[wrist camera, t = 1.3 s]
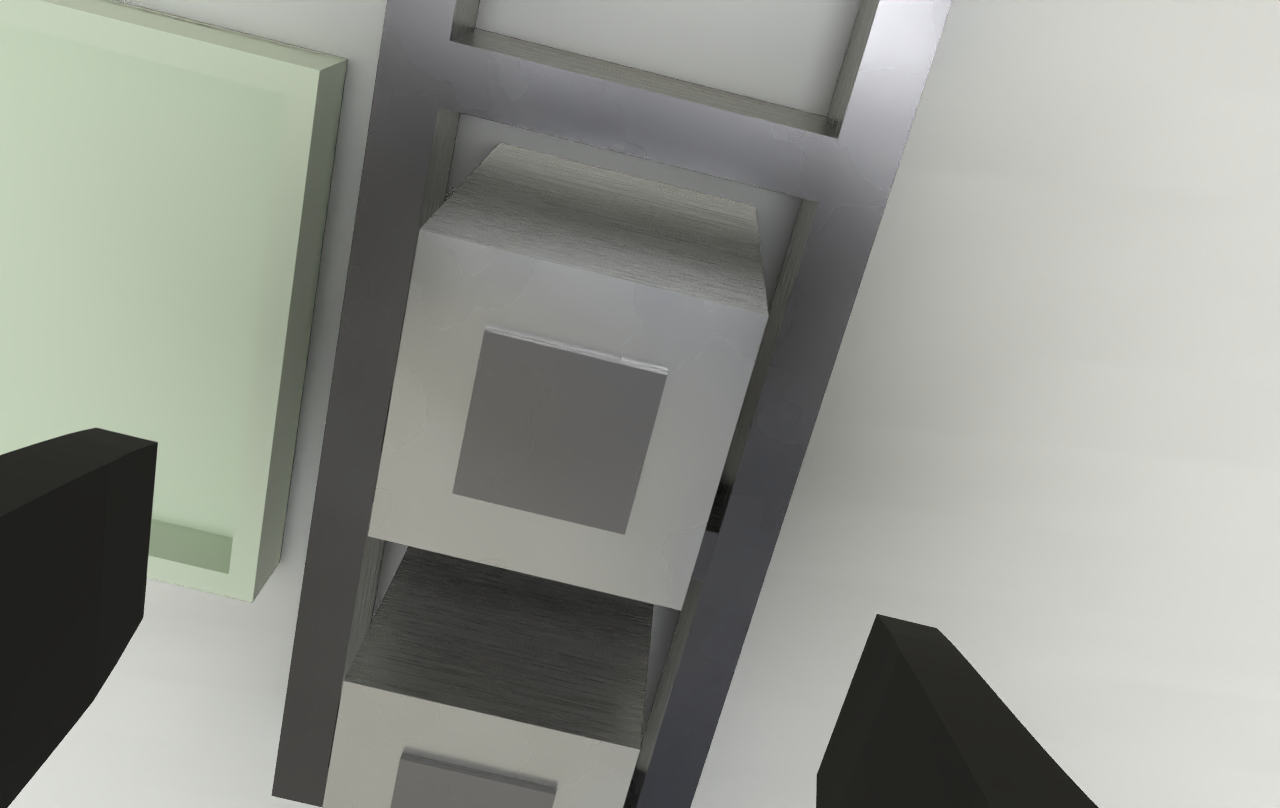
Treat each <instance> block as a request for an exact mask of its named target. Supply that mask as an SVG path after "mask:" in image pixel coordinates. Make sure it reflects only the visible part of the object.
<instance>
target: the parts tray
mask: <svg viewBox="0 0 1280 808" xmlns="http://www.w3.org/2000/svg"><path fill="white" fill-rule="evenodd" d="M346 66H347V59H344V58H340V57H336V56H333V55H329V54H325V53H321V52H317V51H313V50H309V49H305V48H301V47H297V46H293V45H289V44H285V43H281V42H277V41H273V40H269V39H265V38H261V37H257V36H253V35H249V34H245V33H241V32H237V31H233V30H229V29H225V28H221V27H217V26H213V25H209V24H205V23H201V22H197V21H193V20H189V19H185V18H181V17H177V16H173V15H169V14H165V13H161V12H157V11H153V10H149V9H145V8H142V7H138V6H134V5H130V4H126V3H122V2H118V1H114V0H0V455H2V454H5V453H8V452H11V451H14V450H17V449H20V448H24V447H27V446H30V445H33V444H36V443H39V442H43V441H46V440H49V439H52V438H56V437H59V436H63V435H66V434H70V433H74V432H78V431H82V430H87V429H91V428H100V429H105V430H109V431H113V432H117V433H121V434H126V435H130V436H134V437H138V438H142V439H146V440H151V441H155V442H158V448H157V460H156V472H155V484H154V496H153V508H152V519H151V531H150V543H149V555H148V567H147V578H149V579H153V580H158V581H162V582H166V583H170V584H175V585H179V586H183V587H187V588H192V589H196V590H200V591H205V592H209V593H213V594H217V595H222V596H226V597H230V598H234V599H239V600H243V601H247V602H251V603H252V602H253V601H254V599H255V598H256V597H257V595H258V594H259V592H260V591H261V589H262V588H263V586H264V585H265V583H266V582H267V580H268V579H269V577H270V576H271V574H272V573H273V571H274V570H275V568H276V567H277V565H278V564H279V562H280V554H281V547H282V539H283V532H284V525H285V517H286V510H287V502H288V495H289V488H290V480H291V473H292V465H293V458H294V451H295V443H296V436H297V428H298V421H299V414H300V406H301V399H302V391H303V384H304V377H305V369H306V362H307V354H308V347H309V340H310V332H311V325H312V317H313V310H314V303H315V295H316V288H317V280H318V273H319V266H320V258H321V251H322V243H323V236H324V229H325V221H326V214H327V206H328V199H329V192H330V184H331V177H332V169H333V162H334V155H335V147H336V140H337V132H338V125H339V118H340V110H341V103H342V95H343V88H344V81H345V73H346Z"/></svg>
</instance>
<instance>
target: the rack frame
mask: <svg viewBox="0 0 1280 808" xmlns="http://www.w3.org/2000/svg"><path fill="white" fill-rule="evenodd" d="M479 1H480V0H387V6H386V12H385V19H384V26H383V33H382V40H381V47H380V54H379V61H378V68H377V74H376V81H375V88H374V95H373V102H372V109H371V116H370V123H369V129H368V136H367V143H366V150H365V157H364V164H363V171H362V178H361V185H360V191H359V198H358V205H357V212H356V219H355V226H354V233H353V240H352V246H351V253H350V260H349V267H348V274H347V281H346V288H345V295H344V302H343V308H342V315H341V322H340V329H339V336H338V343H337V350H336V357H335V363H334V370H333V377H332V384H331V391H330V398H329V405H328V412H327V419H326V425H325V432H324V439H323V446H322V453H321V460H320V467H319V474H318V480H317V487H316V494H315V501H314V508H313V515H312V522H311V529H310V536H309V542H308V549H307V556H306V563H305V570H304V577H303V584H302V591H301V598H300V604H299V611H298V618H297V625H296V632H295V639H294V646H293V653H292V659H291V666H290V673H289V680H288V687H287V694H286V701H285V708H284V715H283V721H282V728H281V735H280V742H279V749H278V756H277V763H276V770H275V776H274V783H273V790H272V796H275V797H280V798H284V799H288V800H293V801H297V802H301V803H306V804H310V805H315V806H319V807H323V801H324V795H325V789H326V783H327V777H328V771H329V765H330V759H331V753H332V747H333V741H334V735H335V730H336V724H337V718H338V712H339V706H340V700H341V694H342V688H343V682H344V679H345V677H346V675H347V673H348V671H349V669H350V667H351V665H352V663H353V661H354V658H355V656H356V654H357V652H358V650H359V648H360V646H361V644H362V642H363V640H364V638H365V636H366V634H367V632H368V629H369V627H370V625H371V619H372V614H373V608H374V602H375V597H376V591H377V585H378V579H379V574H380V568H381V562H382V556H383V551H384V545H385V540H382V539H378V538H373V537H369V536H368V532H369V526H370V520H371V515H372V509H373V503H374V497H375V491H376V485H377V479H378V473H379V467H380V461H381V455H382V449H383V443H384V437H385V432H386V426H387V420H388V414H389V408H390V402H391V396H392V390H393V384H394V378H395V372H396V366H397V360H398V354H399V349H400V343H401V337H402V331H403V325H404V319H405V313H406V307H407V301H408V295H409V289H410V283H411V277H412V271H413V266H414V260H415V254H416V248H417V242H418V236H419V230H420V228H421V227H422V226H423V225H424V224H425V223H426V222H427V221H428V220H429V219H430V218H431V217H432V216H433V214H434V213H435V212H436V211H437V210H438V209H439V208H440V207H441V206H442V205H443V204H444V201H445V196H446V190H447V184H448V178H449V173H450V167H451V161H452V155H453V150H454V144H455V138H456V133H457V127H458V121H459V115H460V113H464V114H468V115H472V116H476V117H480V118H484V119H488V120H492V121H496V122H500V123H504V124H508V125H512V126H516V127H520V128H524V129H528V130H532V131H536V132H540V133H544V134H548V135H552V136H556V137H560V138H564V139H568V140H572V141H576V142H580V143H584V144H588V145H592V146H596V147H600V148H604V149H608V150H612V151H616V152H620V153H624V154H628V155H632V156H636V157H640V158H644V159H648V160H652V161H656V162H660V163H664V164H668V165H672V166H676V167H680V168H684V169H688V170H692V171H695V172H699V173H703V174H707V175H711V176H715V177H719V178H723V179H727V180H731V181H735V182H739V183H743V184H747V185H751V186H755V187H759V188H763V189H767V190H771V191H775V192H779V193H783V194H787V195H791V196H795V197H799V198H803V200H802V203H801V207H800V210H799V213H798V217H797V220H796V224H795V227H794V230H793V234H792V237H791V241H790V244H789V247H788V251H787V254H786V257H785V261H784V264H783V268H782V271H781V274H780V278H779V281H778V284H777V288H776V291H775V295H774V298H773V301H772V305H771V308H770V312H769V316H768V320H767V323H766V327H765V330H764V333H763V337H762V340H761V343H760V347H759V350H758V353H757V357H756V360H755V364H754V367H753V370H752V374H751V377H750V380H749V384H748V387H747V391H746V394H745V397H744V401H743V404H742V407H741V411H740V414H739V418H738V421H737V424H736V428H735V431H734V434H733V438H732V441H731V445H730V448H729V451H728V455H727V458H726V461H725V465H724V468H723V471H722V475H721V478H720V482H719V485H718V488H717V492H716V495H715V498H714V502H713V505H712V509H711V512H710V515H709V519H708V522H707V525H706V529H705V532H704V536H703V539H702V542H701V546H700V549H699V552H698V556H697V559H696V563H695V566H694V569H693V573H692V576H691V579H690V583H689V586H688V590H687V593H686V596H685V600H684V603H683V606H682V610H681V612H680V616H679V619H678V623H677V626H676V629H675V633H674V636H673V639H672V643H671V646H670V650H669V653H668V656H667V660H666V663H665V666H664V670H663V673H662V677H661V680H660V683H659V687H658V690H657V693H656V697H655V700H654V704H653V707H652V710H651V714H650V717H649V721H648V724H647V727H646V731H645V734H644V737H643V741H642V744H641V748H640V752H639V755H638V759H637V762H636V765H635V769H634V772H633V775H632V779H631V782H630V786H629V789H628V792H627V796H626V799H625V802H624V806H623V808H690V806H691V803H692V800H693V797H694V794H695V791H696V788H697V785H698V782H699V779H700V776H701V773H702V769H703V766H704V763H705V760H706V757H707V754H708V751H709V748H710V745H711V742H712V739H713V736H714V732H715V729H716V726H717V723H718V720H719V717H720V714H721V711H722V708H723V705H724V702H725V699H726V696H727V692H728V689H729V686H730V683H731V680H732V677H733V674H734V671H735V668H736V665H737V662H738V659H739V655H740V652H741V649H742V646H743V643H744V640H745V637H746V634H747V631H748V628H749V625H750V622H751V619H752V615H753V612H754V609H755V606H756V603H757V600H758V597H759V594H760V591H761V588H762V585H763V582H764V578H765V575H766V572H767V569H768V566H769V563H770V560H771V557H772V554H773V551H774V548H775V545H776V541H777V538H778V535H779V532H780V529H781V526H782V523H783V520H784V517H785V514H786V511H787V508H788V505H789V501H790V498H791V495H792V492H793V489H794V486H795V483H796V480H797V477H798V474H799V471H800V468H801V464H802V461H803V458H804V455H805V452H806V449H807V446H808V443H809V440H810V437H811V434H812V431H813V427H814V424H815V421H816V418H817V415H818V412H819V409H820V406H821V403H822V400H823V397H824V394H825V391H826V387H827V384H828V381H829V378H830V375H831V372H832V369H833V366H834V363H835V360H836V357H837V354H838V350H839V347H840V344H841V341H842V338H843V335H844V332H845V329H846V326H847V323H848V320H849V317H850V313H851V310H852V307H853V304H854V301H855V298H856V295H857V292H858V289H859V286H860V283H861V280H862V277H863V273H864V270H865V267H866V264H867V261H868V258H869V255H870V252H871V249H872V246H873V243H874V240H875V236H876V233H877V230H878V227H879V224H880V221H881V218H882V215H883V212H884V209H885V206H886V203H887V200H888V196H889V193H890V190H891V187H892V184H893V181H894V178H895V175H896V172H897V169H898V166H899V163H900V159H901V156H902V153H903V150H904V147H905V144H906V141H907V138H908V135H909V132H910V129H911V126H912V122H913V119H914V116H915V113H916V110H917V107H918V104H919V101H920V98H921V95H922V92H923V89H924V86H925V82H926V79H927V76H928V73H929V70H930V67H931V64H932V61H933V58H934V55H935V52H936V49H937V45H938V42H939V39H940V36H941V33H942V30H943V27H944V24H945V21H946V18H947V15H948V12H949V8H950V5H951V2H952V0H862V1H861V4H860V7H859V11H858V14H857V17H856V21H855V24H854V28H853V31H852V34H851V38H850V41H849V44H848V48H847V51H846V55H845V58H844V61H843V65H842V68H841V72H840V75H839V78H838V82H837V85H836V88H835V92H834V95H833V99H832V102H831V105H830V109H829V112H828V115H827V117H824V116H820V115H816V114H812V113H808V112H804V111H800V110H796V109H792V108H788V107H784V106H780V105H776V104H773V103H769V102H765V101H761V100H757V99H753V98H749V97H745V96H741V95H737V94H733V93H729V92H725V91H721V90H717V89H713V88H709V87H705V86H701V85H697V84H694V83H690V82H686V81H682V80H678V79H674V78H670V77H666V76H662V75H658V74H654V73H650V72H646V71H642V70H638V69H634V68H630V67H626V66H622V65H618V64H615V63H611V62H607V61H603V60H599V59H595V58H591V57H587V56H583V55H579V54H575V53H571V52H567V51H563V50H559V49H555V48H551V47H547V46H543V45H539V44H536V43H532V42H528V41H524V40H520V39H516V38H512V37H508V36H504V35H500V34H496V33H492V32H488V31H484V30H480V29H476V28H475V24H476V18H477V12H478V7H479Z"/></svg>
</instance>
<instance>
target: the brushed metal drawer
mask: <svg viewBox="0 0 1280 808" xmlns="http://www.w3.org/2000/svg"><path fill="white" fill-rule="evenodd" d="M653 605H654V604H651V603H647V602H643V601H638V600H634V599H630V598H626V597H622V596H617V595H613V594H609V593H605V592H600V591H596V590H592V589H588V588H584V587H579V586H575V585H571V584H567V583H563V582H558V581H554V580H550V579H546V578H542V577H537V576H533V575H529V574H525V573H521V572H516V571H512V570H508V569H504V568H500V567H495V566H491V565H487V564H483V563H478V562H474V561H470V560H466V559H462V558H457V557H453V556H449V555H445V554H441V553H436V552H432V551H428V550H424V549H420V548H415V547H411V546H409V547H408V549H407V551H406V553H405V555H404V557H403V559H402V561H401V563H400V565H399V567H398V569H397V572H396V574H395V576H394V578H393V580H392V582H391V584H390V586H389V588H388V590H387V592H386V594H385V596H384V598H383V601H382V603H381V605H380V607H379V609H378V611H377V613H376V615H375V617H374V619H373V621H372V623H371V625H370V627H369V629H368V632H367V634H366V636H365V638H364V640H363V642H362V644H361V646H360V648H359V650H358V652H357V654H356V656H355V658H354V661H353V663H352V665H351V667H350V669H349V671H348V673H347V675H346V677H345V679H344V682H343V688H342V694H341V700H340V706H339V712H338V718H337V724H336V730H335V735H334V741H333V747H332V753H331V759H330V765H329V771H328V777H327V783H326V789H325V795H324V801H323V807H322V808H623V806H624V802H625V799H626V796H627V792H628V789H629V786H630V782H631V779H632V775H633V772H634V769H635V765H636V762H637V759H638V755H639V752H640V745H641V734H642V724H643V713H644V702H645V691H646V681H647V670H648V659H649V648H650V637H651V627H652V616H653Z"/></svg>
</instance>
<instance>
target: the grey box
mask: <svg viewBox="0 0 1280 808" xmlns="http://www.w3.org/2000/svg"><path fill="white" fill-rule="evenodd" d="M768 316H769V314H768V306H767V298H766V290H765V282H764V274H763V266H762V258H761V250H760V242H759V234H758V226H757V218H756V210H755V206H751V205H747V204H743V203H739V202H735V201H731V200H727V199H723V198H719V197H715V196H711V195H707V194H703V193H699V192H695V191H691V190H687V189H683V188H679V187H675V186H671V185H667V184H663V183H659V182H655V181H651V180H647V179H643V178H639V177H635V176H631V175H627V174H623V173H619V172H615V171H611V170H607V169H604V168H600V167H596V166H592V165H588V164H584V163H580V162H576V161H572V160H568V159H564V158H560V157H556V156H552V155H548V154H544V153H540V152H536V151H532V150H528V149H524V148H520V147H516V146H512V145H508V144H504V143H499V144H498V145H497V146H496V148H495V149H494V150H493V151H492V152H491V153H490V154H489V155H488V156H487V157H486V158H485V159H484V160H483V162H482V163H481V164H480V165H479V166H478V167H477V168H476V169H475V170H474V171H473V172H472V173H471V175H470V176H469V177H468V178H467V179H466V180H465V181H464V182H463V183H462V184H461V185H460V186H459V187H458V189H457V190H456V191H455V192H454V193H453V194H452V195H451V196H450V197H449V198H448V199H447V200H446V201H445V203H444V204H443V205H442V206H441V207H440V208H439V209H438V210H437V211H436V212H435V213H434V214H433V216H432V217H431V218H430V219H429V220H428V221H427V222H426V223H425V224H424V225H423V226H422V227H421V228H420V230H419V236H418V242H417V248H416V254H415V260H414V266H413V271H412V277H411V283H410V289H409V295H408V301H407V307H406V313H405V319H404V325H403V331H402V337H401V343H400V349H399V354H398V360H397V366H396V372H395V378H394V384H393V390H392V396H391V402H390V408H389V414H388V420H387V426H386V432H385V437H384V443H383V449H382V455H381V461H380V467H379V473H378V479H377V485H376V491H375V497H374V503H373V509H372V515H371V520H370V526H369V532H368V536H369V537H373V538H378V539H382V540H386V541H390V542H394V543H399V544H403V545H407V546H411V547H415V548H420V549H424V550H428V551H432V552H436V553H441V554H445V555H449V556H453V557H457V558H462V559H466V560H470V561H474V562H478V563H483V564H487V565H491V566H495V567H500V568H504V569H508V570H512V571H516V572H521V573H525V574H529V575H533V576H537V577H542V578H546V579H550V580H554V581H558V582H563V583H567V584H571V585H575V586H579V587H584V588H588V589H592V590H596V591H600V592H605V593H609V594H613V595H617V596H622V597H626V598H630V599H634V600H638V601H643V602H647V603H651V604H655V605H659V606H664V607H668V608H672V609H676V610H680V611H681V610H682V606H683V603H684V600H685V596H686V593H687V590H688V586H689V583H690V579H691V576H692V573H693V569H694V566H695V563H696V559H697V556H698V552H699V549H700V546H701V542H702V539H703V536H704V532H705V529H706V525H707V522H708V519H709V515H710V512H711V509H712V505H713V502H714V498H715V495H716V492H717V488H718V485H719V482H720V478H721V475H722V471H723V468H724V465H725V461H726V458H727V455H728V451H729V448H730V445H731V441H732V438H733V434H734V431H735V428H736V424H737V421H738V418H739V414H740V411H741V407H742V404H743V401H744V397H745V394H746V391H747V387H748V384H749V380H750V377H751V374H752V370H753V367H754V364H755V360H756V357H757V353H758V350H759V347H760V343H761V340H762V337H763V333H764V330H765V327H766V323H767V320H768Z"/></svg>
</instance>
